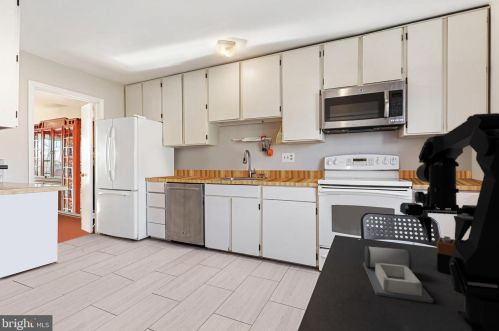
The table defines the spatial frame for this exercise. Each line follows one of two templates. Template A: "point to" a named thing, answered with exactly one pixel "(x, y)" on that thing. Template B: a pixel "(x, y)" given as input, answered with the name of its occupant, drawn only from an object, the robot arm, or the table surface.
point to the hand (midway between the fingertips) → (442, 243)
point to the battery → (444, 254)
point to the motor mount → (393, 274)
